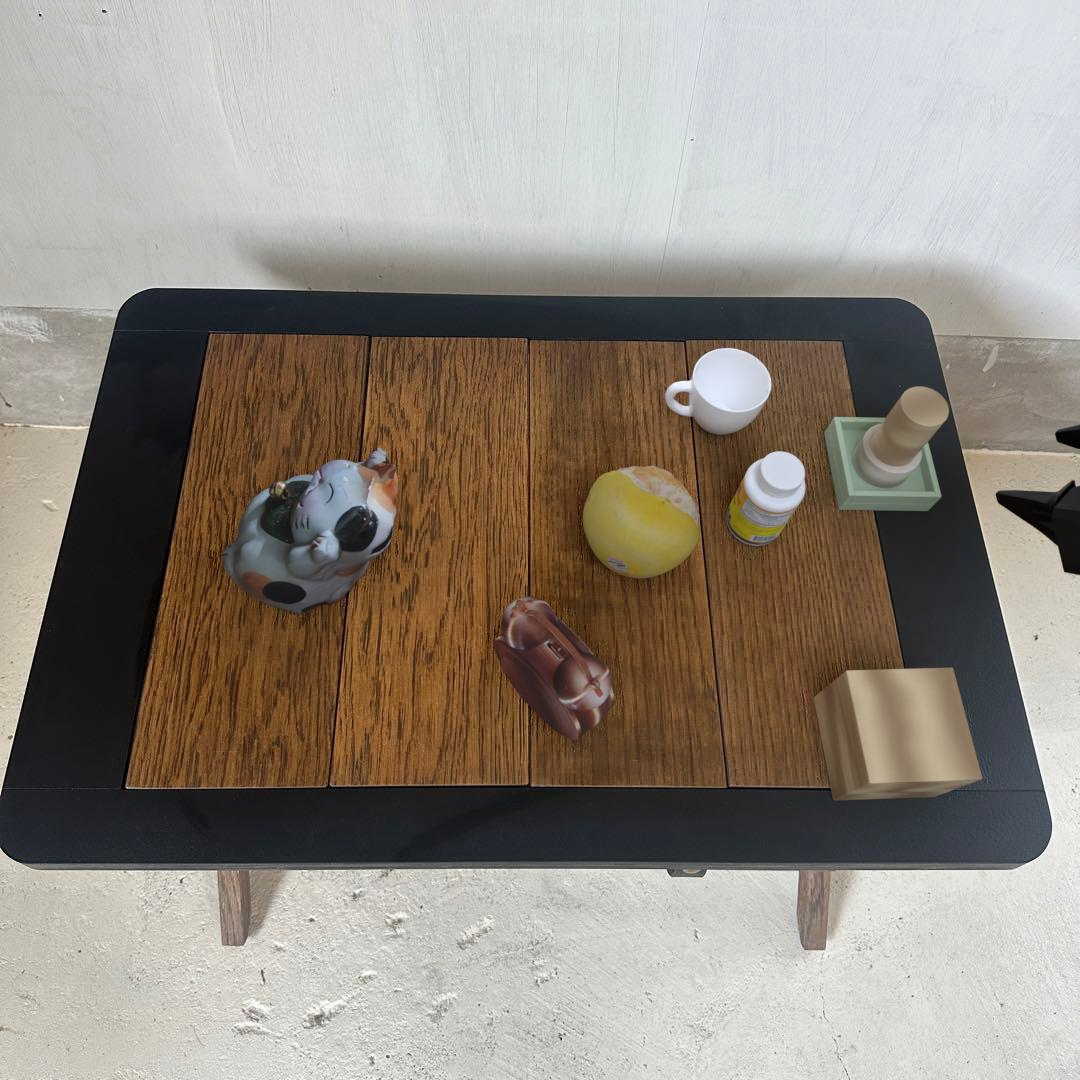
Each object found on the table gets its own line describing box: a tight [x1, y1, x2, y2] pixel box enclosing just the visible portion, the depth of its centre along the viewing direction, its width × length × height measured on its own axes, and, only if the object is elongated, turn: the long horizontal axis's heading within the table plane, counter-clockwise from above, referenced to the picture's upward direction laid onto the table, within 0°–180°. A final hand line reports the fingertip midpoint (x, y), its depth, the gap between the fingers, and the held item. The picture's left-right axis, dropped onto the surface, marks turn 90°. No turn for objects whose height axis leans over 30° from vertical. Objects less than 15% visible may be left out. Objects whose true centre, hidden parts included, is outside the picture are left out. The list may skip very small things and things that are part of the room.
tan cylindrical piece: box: [852, 385, 950, 488], centre depth 81 cm, size 6×6×10 cm
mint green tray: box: [823, 416, 942, 512], centre depth 86 cm, size 9×9×3 cm
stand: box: [813, 667, 983, 802], centre depth 71 cm, size 9×9×8 cm
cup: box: [664, 347, 772, 436], centre depth 86 cm, size 8×10×7 cm
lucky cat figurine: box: [221, 447, 399, 615], centre depth 75 cm, size 15×12×14 cm
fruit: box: [582, 465, 701, 579], centre depth 78 cm, size 10×11×10 cm
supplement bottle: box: [726, 450, 806, 547], centre depth 79 cm, size 6×6×10 cm
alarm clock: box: [492, 596, 616, 741], centre depth 68 cm, size 11×5×15 cm, turn 42°
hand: (1027, 465), depth 72 cm, fingers open, 9 cm apart
